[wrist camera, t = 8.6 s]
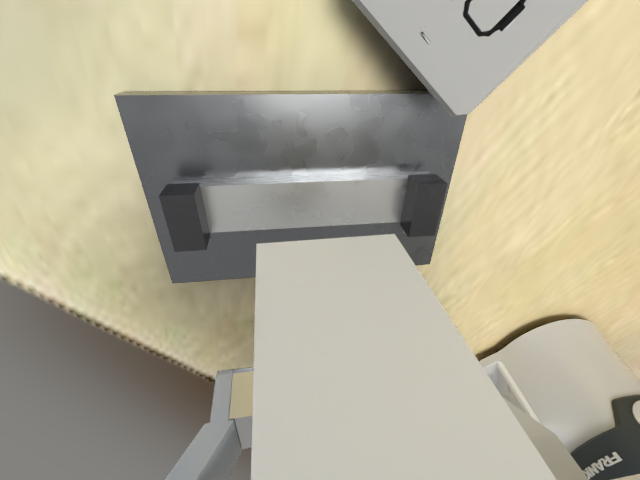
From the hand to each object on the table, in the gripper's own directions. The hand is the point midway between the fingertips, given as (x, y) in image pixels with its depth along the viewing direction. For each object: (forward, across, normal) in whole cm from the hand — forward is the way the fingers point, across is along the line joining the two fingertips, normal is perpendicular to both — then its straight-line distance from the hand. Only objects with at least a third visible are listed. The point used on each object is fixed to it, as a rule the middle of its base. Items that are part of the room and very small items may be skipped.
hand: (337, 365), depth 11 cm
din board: (+16, -1, 0) cm, 16 cm away
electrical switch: (+16, -12, -15) cm, 25 cm away
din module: (+3, 0, 0) cm, 3 cm away
